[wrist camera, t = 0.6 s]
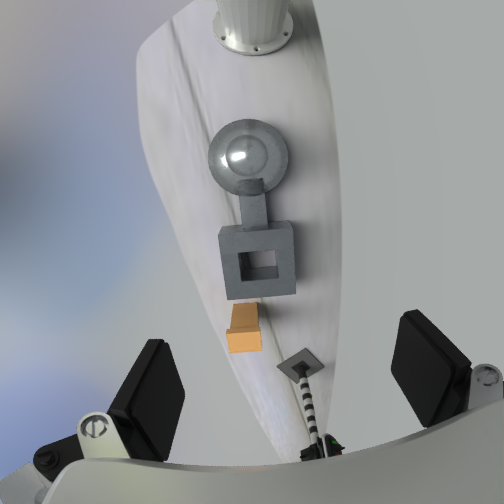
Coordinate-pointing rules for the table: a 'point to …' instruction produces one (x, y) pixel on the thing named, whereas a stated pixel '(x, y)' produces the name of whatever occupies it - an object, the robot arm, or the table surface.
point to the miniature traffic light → (310, 405)
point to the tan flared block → (244, 329)
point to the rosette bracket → (253, 208)
